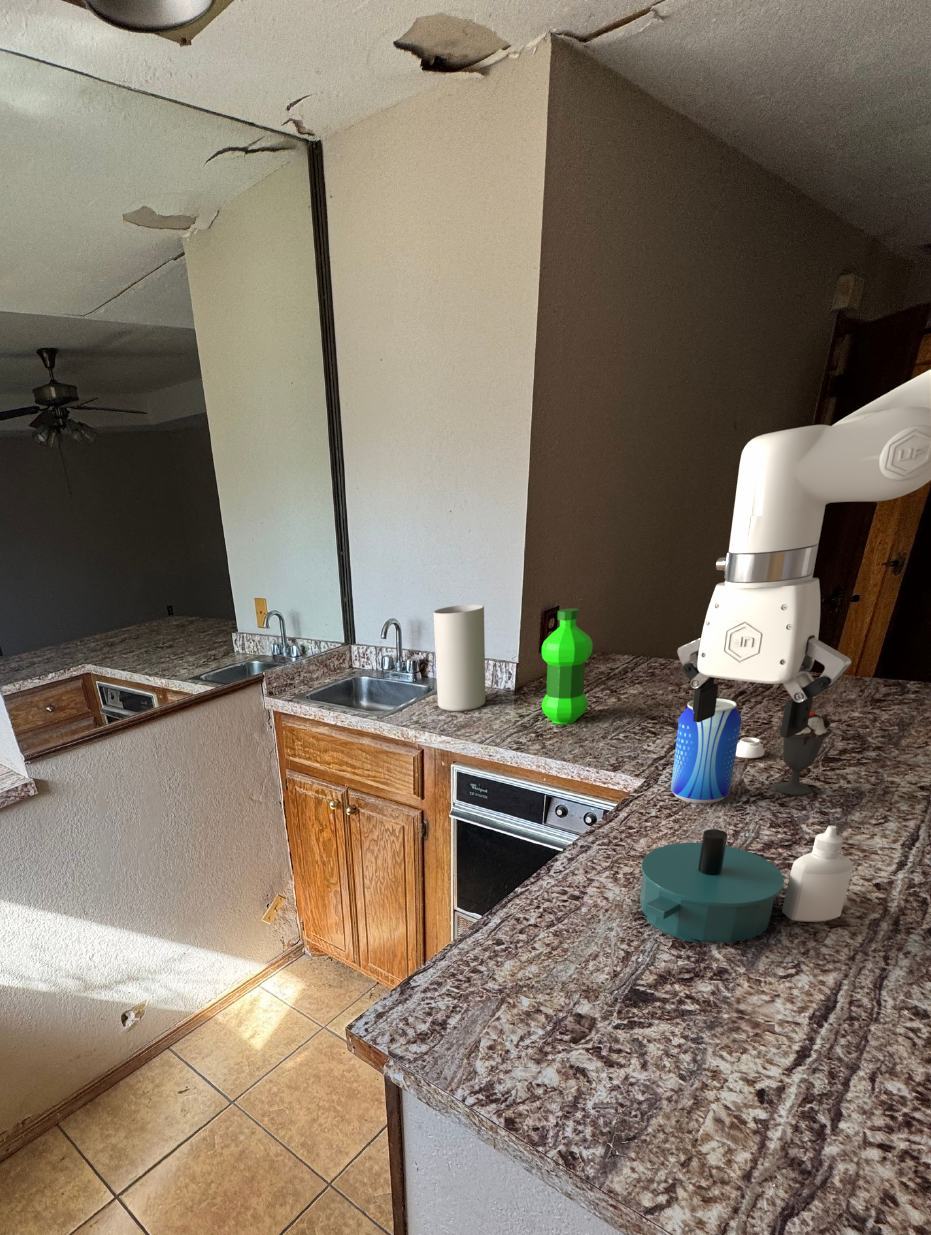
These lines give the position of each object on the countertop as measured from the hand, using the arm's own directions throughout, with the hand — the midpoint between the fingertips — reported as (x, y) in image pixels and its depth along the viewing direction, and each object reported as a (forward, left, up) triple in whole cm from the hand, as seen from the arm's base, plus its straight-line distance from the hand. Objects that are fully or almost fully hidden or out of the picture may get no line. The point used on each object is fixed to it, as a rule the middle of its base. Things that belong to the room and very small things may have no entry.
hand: (745, 726), depth 74 cm
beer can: (+18, -24, -23) cm, 38 cm away
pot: (-2, +6, -22) cm, 23 cm away
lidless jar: (+23, -46, -23) cm, 56 cm away
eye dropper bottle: (-10, -2, -23) cm, 25 cm away
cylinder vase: (+93, -38, -23) cm, 103 cm away
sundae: (+10, -36, -23) cm, 44 cm away
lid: (-2, +6, -17) cm, 18 cm away
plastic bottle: (+63, -43, -23) cm, 80 cm away
